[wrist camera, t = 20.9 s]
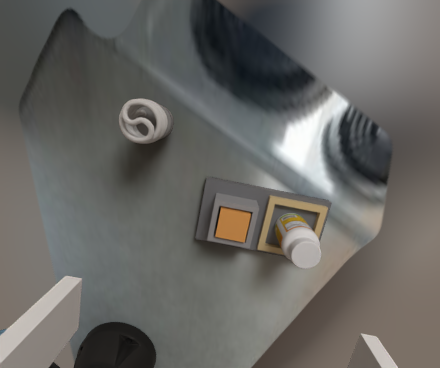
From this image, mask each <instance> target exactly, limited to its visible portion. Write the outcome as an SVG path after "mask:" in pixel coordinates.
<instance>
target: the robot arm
mask: <svg viewBox="0 0 440 368" xmlns="http://www.w3.org/2000/svg"><path fill="white" fill-rule="evenodd" d="M81 287H82V279H81V278H76V277H71V276H65V277H64V278H63V279H62V280H60V281H59V282H58V283H57V284H56V285H55V286H54V287H53V288H52V289H51V290H50V291H48V292H47V293H46V294H45V295H44V296H43V297H42V298H41V299H40V300H39V301H38V302H36V304H34V305H33V306H32V307H31V308H30V309H29V310H28V311H27V312H26V313H24V314H23V315H22V316H21V317H20V318H19V319H18V320H17V321H16V322H15V323H13V324H12V325H11V326H10V327H9V328H8V329H3V330H0V368H60V367H59V366H57V365H56V364H55V363H54V362H53V361H54V360H55V359H56V357H57V356H58V355H59V353H60V352H61V351H62V349H63V348H64V347H65V345H66V344H67V342H68V341H69V340H70V339H71V337H72V336H73V335H74V333H75V332H76V331H77V329H78V327H79V314H80V300H81ZM155 362H156V352H155V348H154V345H153V343H152V342H151V340H150V339H149V338H148V336H147V335H146V334H145V333H143V332H142V331H141V330H139V329H138V328H136V327H134V326H132V325H129V324H125V323H120V322H110V323H105V324H101V325H99V326H97V327H95V328H94V329H93V330H91V331H90V332H89V334H88V335H87V336H86V338H85V339H84V341H83V342H82V344H81V346H80V348H79V351H78V354H77V358H76V361H75V364H74V368H154V365H155ZM348 368H398V367H397V366H396V364H395V363H394V361H393V360H392V358H391V357H390V356H389V354H388V352H387V351H386V350H385V348H384V347H383V345H382V344H381V342H380V341H379V339H378V338H377V337H376V336H370V335H366V334H360V336H359V339H358V341H357V344H356V347H355V349H354V352H353V354H352V357H351V360H350V362H349V365H348Z"/></svg>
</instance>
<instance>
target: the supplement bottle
mask: <svg viewBox="0 0 440 368" xmlns="http://www.w3.org/2000/svg"><path fill="white" fill-rule="evenodd" d="M275 234H276V237H277V239H278V241H279V244H280V246H281V249H282V251H283V253H284V255H285V256H286V257H287V258H288V259H289V260H291V261H293V263H294V264H295V265H296V266H297V267H299V268H303V269H308V268H312V267H314V266H315V265H317V263H318V262H319V261H320V259H321V250H320V242H319V239H318V237H317V235H316V234H315V233H314V231H313V230H312V229H311V228H310V226H309V225H308V224H307V222H306V221H305V220H304V219H303V218H302V217H301V216H300V215H298V214H295V213H287V214H284V215H282V216H281V217H279V218H278V220H277V221H276V223H275Z"/></svg>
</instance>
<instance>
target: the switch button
mask: <svg viewBox="0 0 440 368" xmlns="http://www.w3.org/2000/svg"><path fill="white" fill-rule="evenodd" d="M250 217H251V213H250V211H244V210H239V209H234V208H229V207H224V206H221V208H220V213H219V218H218V223H217V228H216V235H215V237H219V238H224V239H229V240H234V241H239V242H245V238H246V234H247V230H248V225H249V221H250Z"/></svg>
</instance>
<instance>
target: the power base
mask: <svg viewBox="0 0 440 368" xmlns="http://www.w3.org/2000/svg"><path fill="white" fill-rule="evenodd" d="M221 206H224V207H229V208H234V209H239V210H244V211H250V213H251V217H250V221H249V225H248V230H247V234H246V238H245V242H239V241H234V240H229V239H224V238H219V237H215V235H216V228H217V223H218V218H219V213H220V208H221ZM330 207H331V202H330V201H329V200H324V199H319V198H314V197H309V196H304V195H299V194H294V193H289V192H284V191H279V190H274V189H269V188H264V187H259V186H254V185H248V184H243V183H238V182H233V181H228V180H223V179H218V178H213V177H208V176H207V178H206V183H205V189H204V194H203V200H202V205H201V211H200V216H199V221H198V227H197V232H196V238H195V239H199V240H204V241H209V242H214V243H219V244H224V245H229V246H234V247H239V248H245V249H250V250H255V251H260V252H265V253H270V254H275V255H280V256H285V255H284V253H283V251H282V249H281V246H280V244H279V241H278V239H277V237H276V234H275V223H276V221H277V220H278V218H279V217H281V216H282V215H284V214H287V213H295V214H298V215H300V216H301V217H302V218H303V219H304V220H305V221H306V222H307V224H308V225H309V226H310V228H311V229H312V230H313V231H314V233H315V234H316V235H317V237H318V239H319V242H320V239H321V236H322V233H323V230H324V226H325V223H326V220H327V216H328V213H329V210H330ZM285 257H286V256H285Z"/></svg>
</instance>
